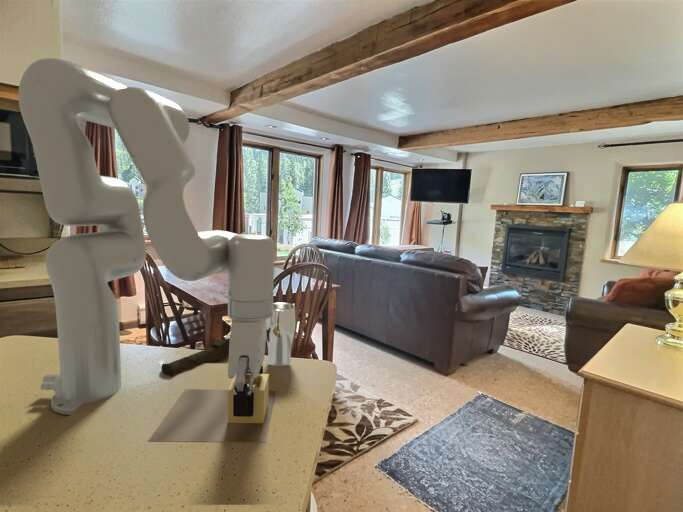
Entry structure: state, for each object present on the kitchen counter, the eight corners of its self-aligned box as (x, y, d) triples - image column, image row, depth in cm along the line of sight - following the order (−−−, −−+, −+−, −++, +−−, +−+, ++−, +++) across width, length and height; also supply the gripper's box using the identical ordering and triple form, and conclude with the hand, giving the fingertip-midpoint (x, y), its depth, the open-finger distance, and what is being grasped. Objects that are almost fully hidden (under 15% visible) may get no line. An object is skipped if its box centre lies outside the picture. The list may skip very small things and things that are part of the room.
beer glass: (267, 375, 83) (269, 311, 81) (261, 362, 89) (262, 303, 87) (297, 371, 86) (299, 309, 84) (289, 359, 92) (291, 301, 90)
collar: (227, 422, 62) (227, 389, 62) (235, 403, 68) (235, 373, 67) (263, 423, 63) (264, 390, 62) (268, 404, 69) (268, 374, 68)
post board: (147, 450, 57) (146, 411, 56) (185, 396, 73) (184, 365, 72) (264, 450, 58) (265, 412, 57) (276, 397, 74) (277, 367, 73)
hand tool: (171, 385, 77) (170, 364, 77) (160, 379, 79) (160, 358, 79) (241, 356, 93) (241, 339, 92) (230, 352, 95) (230, 335, 94)
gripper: (239, 293, 71) (238, 376, 73) (214, 322, 54) (213, 429, 56) (278, 295, 72) (275, 377, 74) (265, 324, 54) (262, 429, 57)
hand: (249, 399), depth 65 cm, fingers open, 9 cm apart
